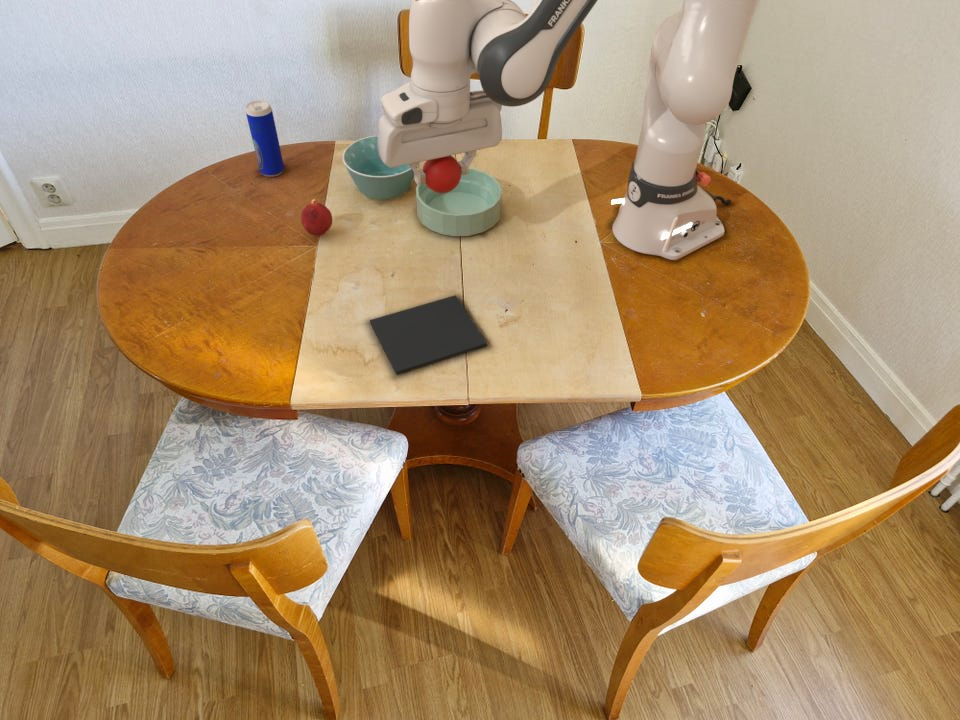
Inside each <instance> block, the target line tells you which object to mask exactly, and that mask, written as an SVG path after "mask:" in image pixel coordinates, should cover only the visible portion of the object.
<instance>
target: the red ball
mask: <svg viewBox="0 0 960 720" xmlns="http://www.w3.org/2000/svg"><path fill="white" fill-rule="evenodd" d="M422 169H423V171H424V172H425V174H426V185H427V186H428V187H429V188H430V189H431V190H433V191H435V192H437V193H447V192H450V191H452V190H453V189H454V188H456V186H457V185H458V184H459V182H460V179H461V168H460V165H459V163H458V160H457V158H456V157H454V155H451V156H446V157H441V158H437V159H432V160H427V161H424V164H423V167H422Z"/></svg>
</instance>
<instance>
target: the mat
mask: <svg viewBox="0 0 960 720" xmlns="http://www.w3.org/2000/svg"><path fill="white" fill-rule="evenodd" d="M369 324H370V326H371V328H372V330H373V332H374V333H375V336H376V338H377V340H378V342H379V344H380V346H381V347H382V350H383V351H384V353H385V355H386V358H387V359H388V361H389V364H390V365H391V367H392V369H393V371H394V372H395V375H396V376H398V375H401V374H404V373H408V372H411V371H414V370H417V369H420V368H422V367H426V366H429V365H432V364H435V363H439V362H442V361H446V360H449V359H451V358H454V357H457V356H461V355H464V354H468V353H470V352H473V351H475V350H479V349H483V348H486V347H487V346H488V342H487V341H486V339H485V338H484V336H483V335H482V333H481V331H480V330H479V329H478V328H477V325H476V324H475V323H474V321H473V320H472V318H471V316H470V315H469V313H468V312H467V311H466V308H464V306H463V304H462V302H461V301H460V300H459V298H458V297H457V295H451V296H448V297H445V298H441V299H438V300H435V301H431V302H428V303H424V304H421V305H420V304H419V305H417V306H414V307H410V308H406V309H404V310H400V311H397V312H393V313H389V314H386V315H383V316H378V317H375V318H373V319H370V320H369Z"/></svg>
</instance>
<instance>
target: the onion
mask: <svg viewBox="0 0 960 720" xmlns="http://www.w3.org/2000/svg"><path fill="white" fill-rule="evenodd" d="M300 223H301V225H302V227H303V229H304V230H305V231H306V232H307V233H309V234H310V235H313V236H316V237H321V236H323V235H325V234H326V233H327V232H329V230H330V229H331V227H332V225H333V215H332V212H331V210H330V209H329V208H328V207H327V206H326V205H325V204H323V203H321V202H319V201H318V199H316V198H313V199H311V201H310V203H309V204H307V205H306V206H304V208H303V210H302V211H301V215H300Z"/></svg>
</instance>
